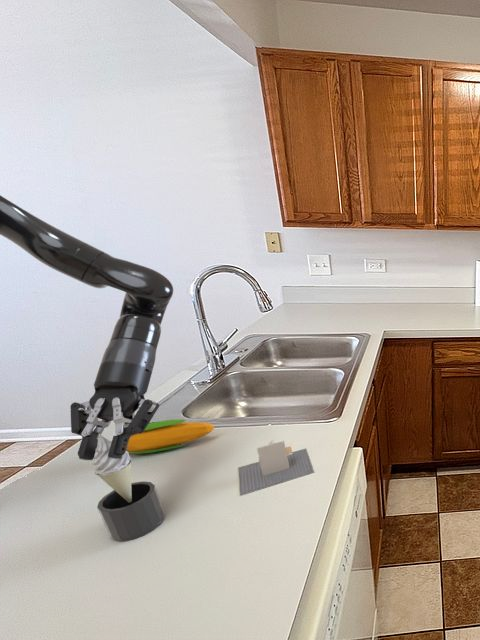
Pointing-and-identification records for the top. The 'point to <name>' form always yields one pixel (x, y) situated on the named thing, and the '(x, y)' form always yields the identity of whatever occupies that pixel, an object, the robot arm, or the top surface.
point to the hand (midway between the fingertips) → (100, 458)
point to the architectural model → (274, 467)
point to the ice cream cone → (113, 469)
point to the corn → (166, 436)
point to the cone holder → (132, 512)
